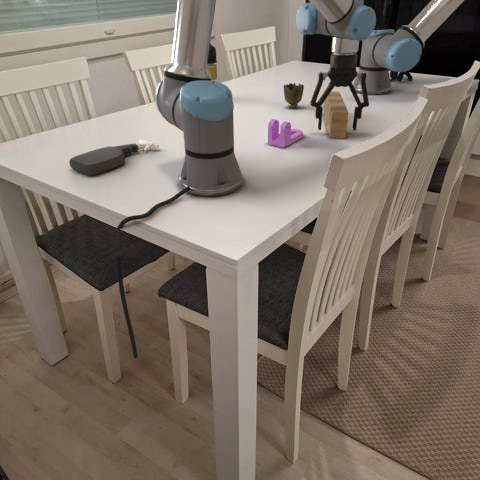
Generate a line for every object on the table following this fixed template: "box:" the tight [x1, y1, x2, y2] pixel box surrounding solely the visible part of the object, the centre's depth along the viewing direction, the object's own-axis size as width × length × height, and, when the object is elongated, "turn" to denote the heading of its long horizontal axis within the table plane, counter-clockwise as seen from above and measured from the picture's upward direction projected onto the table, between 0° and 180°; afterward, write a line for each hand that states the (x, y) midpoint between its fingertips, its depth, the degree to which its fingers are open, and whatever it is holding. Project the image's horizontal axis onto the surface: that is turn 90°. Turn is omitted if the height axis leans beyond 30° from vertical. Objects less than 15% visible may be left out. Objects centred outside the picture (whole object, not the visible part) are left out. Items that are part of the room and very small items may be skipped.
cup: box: [283, 82, 305, 109], centre depth 164 cm, size 8×7×8 cm
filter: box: [207, 42, 218, 82], centre depth 171 cm, size 6×6×30 cm
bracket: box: [267, 118, 304, 148], centre depth 134 cm, size 13×6×7 cm, turn 143°
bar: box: [323, 90, 349, 139], centre depth 145 cm, size 25×5×8 cm, turn 175°
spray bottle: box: [68, 139, 160, 177], centre depth 124 cm, size 3×11×24 cm
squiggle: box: [389, 69, 414, 83], centre depth 198 cm, size 11×10×15 cm
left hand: (336, 128), depth 140 cm, fingers open, 10 cm apart
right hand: (364, 15), depth 156 cm, fingers open, 13 cm apart
